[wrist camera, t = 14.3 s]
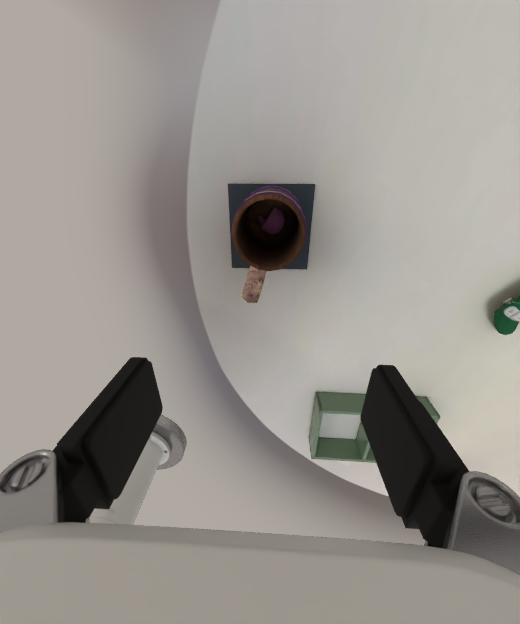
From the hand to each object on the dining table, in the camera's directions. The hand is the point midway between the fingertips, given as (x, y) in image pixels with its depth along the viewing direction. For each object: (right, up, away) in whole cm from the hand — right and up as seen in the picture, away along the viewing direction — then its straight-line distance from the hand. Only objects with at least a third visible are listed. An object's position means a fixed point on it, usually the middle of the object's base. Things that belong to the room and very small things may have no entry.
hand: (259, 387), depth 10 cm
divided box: (+19, -17, +35) cm, 43 cm away
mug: (+1, +13, +20) cm, 24 cm away
